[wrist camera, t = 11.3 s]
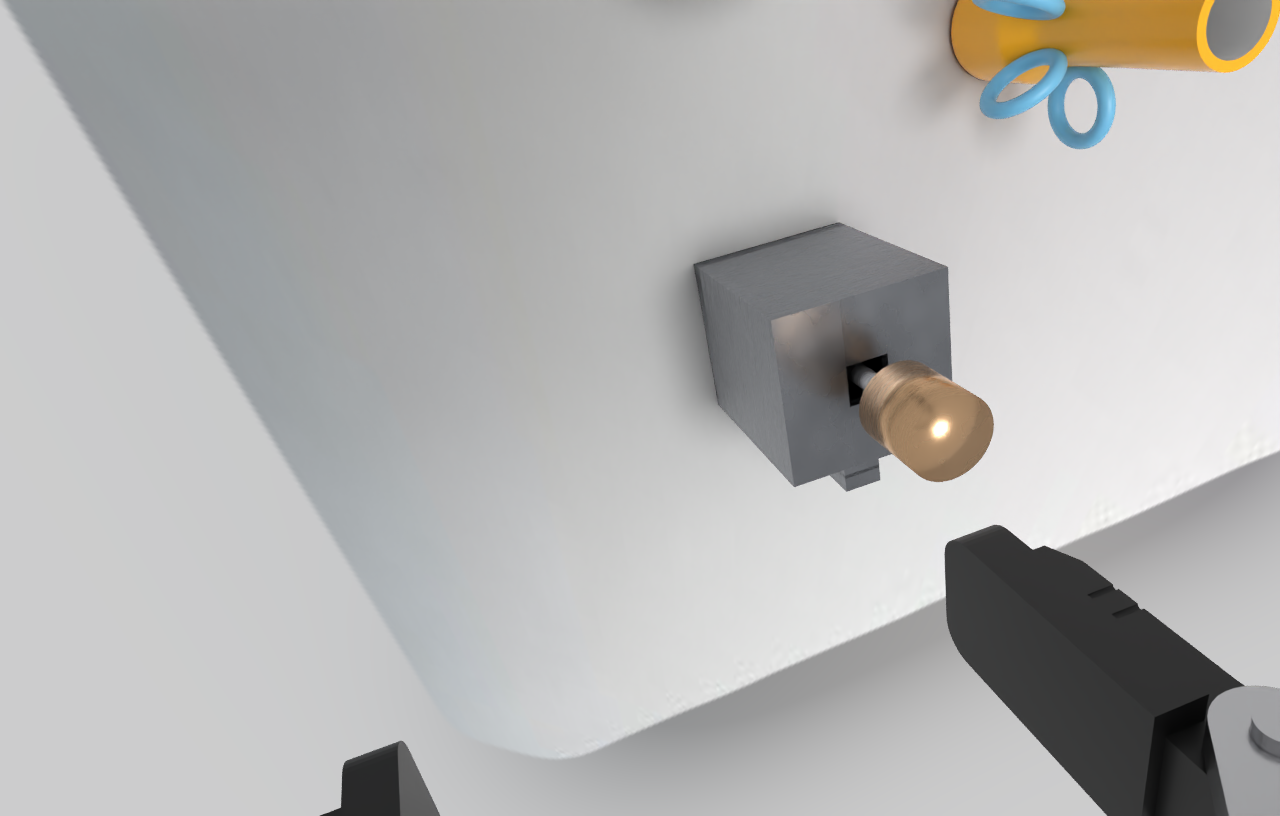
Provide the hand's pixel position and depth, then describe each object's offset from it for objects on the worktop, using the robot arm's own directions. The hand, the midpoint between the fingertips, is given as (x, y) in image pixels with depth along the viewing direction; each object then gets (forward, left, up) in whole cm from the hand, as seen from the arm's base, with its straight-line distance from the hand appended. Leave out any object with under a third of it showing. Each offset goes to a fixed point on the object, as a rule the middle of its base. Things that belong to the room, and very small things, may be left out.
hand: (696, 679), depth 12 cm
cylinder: (-3, +31, -36) cm, 47 cm away
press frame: (+12, +16, -35) cm, 40 cm away
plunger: (+10, +16, -33) cm, 38 cm away
